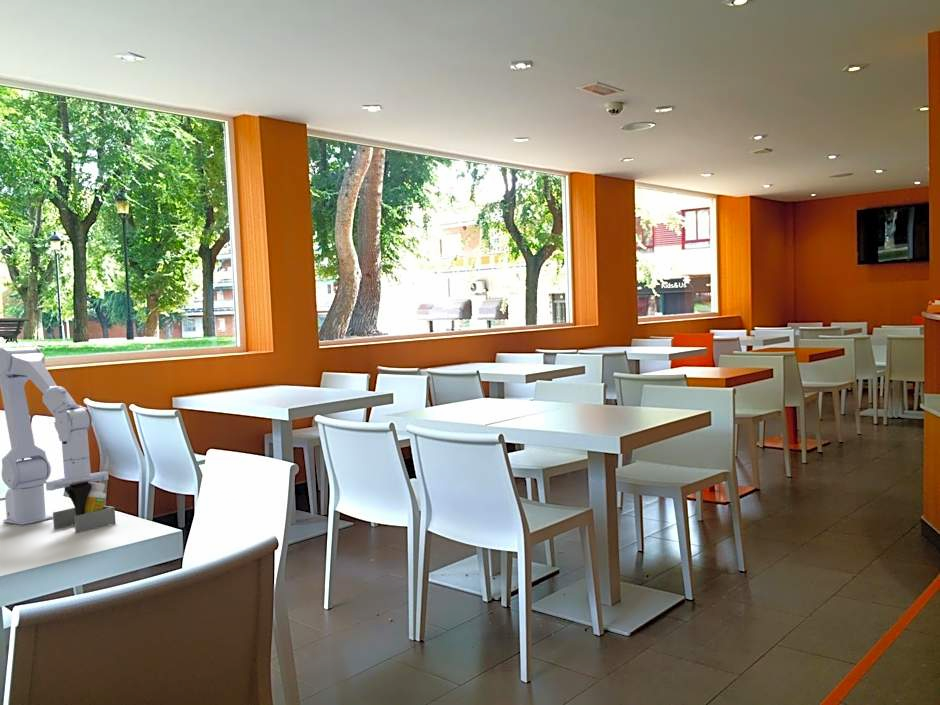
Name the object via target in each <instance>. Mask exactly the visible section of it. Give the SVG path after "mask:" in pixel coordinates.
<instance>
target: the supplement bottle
mask: <svg viewBox="0 0 940 705" xmlns="http://www.w3.org/2000/svg"><path fill="white" fill-rule="evenodd" d="M89 484H92V488H91V490H90V492H89V494H88V497H87V500H86V503H85V513H89V512H94V511H98V510H102V509H103V508H104V506H105V505H106V504H105V503H106V497H107V495H106V493H105V492H104V490H105V488H106V484H105V483H100V482H90V483H89Z"/></svg>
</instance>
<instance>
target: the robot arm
mask: <svg viewBox="0 0 940 705" xmlns="http://www.w3.org/2000/svg"><path fill="white" fill-rule="evenodd" d="M45 360H46V358H45V354H44V353H43V351H42V350H41V348H39V347H38V346H36V345H35V346H28V347H27V346H25V347H24V346H23V347H6V348H5V347H0V393H1V398H2V403H3V408H4V414H5V419H6V426H7V430H8V435H9V436H8V438H9V442H10V448H11V449H10V450H9V451H8V453H7V454H6V455H5V456H4V457H2V459H1V463H2V464H1V465H2V469H1V479H2V481H3V483H4V484H5V485H6V486H7V491H6V493H5V496H4V497H5V513H6V514H5V515H6V518H5V519H2V521H3V522H4V523H10V524H14V525H20V526H24V525H29V524H33V523H36V522H41V521H47V520H49V519H53V515H51V514H50V515H48V514H46V503H45V501H46V500H45V488H46V491H55V490H58V489H64V491H65V492H66V493H67V495H68V497H69V499H70V500H71V502H72V504H73V505H74V508H75V512H76V515H81V514H85V503H86V500H87V497H88V494H89V492H90V490H91V488H92V484H89V483H90V482H93V483H96V482H101V481H106V480H109V471H104V470H103V471H99V472H92V471H91V461H90V460H91V459H90V448H89V447H90V446H89V445H90V444H89V436H88V434H89V433H88V431H89V430H90V428H91V427H92V426H93V425H92V424H93V417H92V414H91V411H90V410H89V408H87V407H84V406H82V405H80V404H77V403H76V401H75V400H74V398H73V397H72V396H71V395H70V393H69V392H68V390H66V388H65V387H63V386H59V385H57V384H56V382H55V380H54V379H53V377H52V375H51V374H50V371H48V369H47V368H46V366H45V364H46V363H45ZM29 380H30V381H31V382H32V383H33V384H34V385H35V387H36V388H38V390H40V392H41V393H42V394H43V395H42V398H41V399H42V400H41V401H42V402H43V404H44V405H45V407H46V408H47V410H48V411H49V412H50V413H51V415H52V416H53V417H54V420H55V421H54V422H53V423H54V428H55V430H56V432H57V435H58V439H59V441H60V442H61V447H62V448H61V450H62V451H61V452H62V462H63V474H64V477H63V478H62V477H61V478H59V479H54V480H49V481H47V480H48V479H49V478H50V475H51V472H52V467H51V463H50V462H49V460H48V457H47V455H46V450H43V449H42V448H40V447H38V446H36V445H35V440H34V434H33V427H32V424H31V417H30V411H29V406H28V401H27V400H28V399H27V396H26V389H25V385H26V383H27V381H29ZM23 459H24V460H23ZM91 472H92V473H91ZM44 484H45V486H44ZM44 487H45V488H44Z"/></svg>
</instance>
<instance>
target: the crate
mask: <svg viewBox="0 0 940 705" xmlns="http://www.w3.org/2000/svg"><path fill="white" fill-rule="evenodd" d="M115 508H116V507H115V506H110V505H109V506H108V505H104V508H103V509H102V510H98V511H94V512H89V513H85V514H81V515H76V512H75V507H70V508H67V509H62V510H57V511H54V512H52V516H53V518H52V519H53V521H52V522H53V530H57V529H63V528H65V527H70V526H73V525H74V530H75V531H74V532H75V534H79V533H83V532H86V531H90V530H95V529H99V528H103V527H107V526H110V525H114V524H116V509H115Z"/></svg>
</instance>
